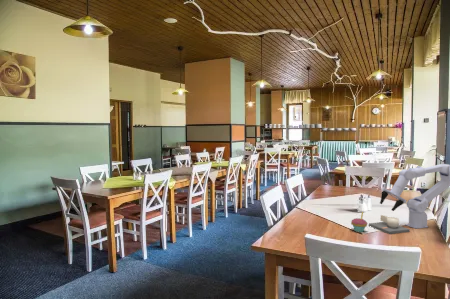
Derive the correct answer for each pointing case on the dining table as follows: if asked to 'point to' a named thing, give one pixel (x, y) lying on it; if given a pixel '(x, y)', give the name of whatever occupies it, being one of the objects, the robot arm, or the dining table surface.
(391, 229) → the post board
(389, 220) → the cream ball joystick
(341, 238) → the dining table surface
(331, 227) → the dining table surface
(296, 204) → the dining table surface
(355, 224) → the cupcake
